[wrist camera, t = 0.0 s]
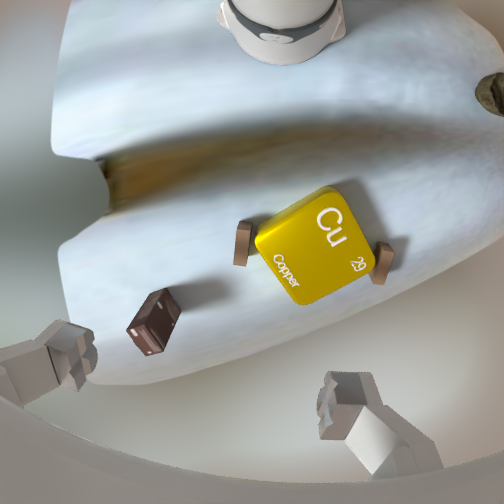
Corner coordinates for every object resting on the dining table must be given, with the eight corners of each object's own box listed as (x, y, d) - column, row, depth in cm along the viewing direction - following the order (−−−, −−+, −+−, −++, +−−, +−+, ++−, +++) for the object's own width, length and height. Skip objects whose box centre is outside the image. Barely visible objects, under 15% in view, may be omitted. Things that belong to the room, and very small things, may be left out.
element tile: (251, 228, 49) (248, 240, 45) (332, 180, 45) (337, 187, 40) (298, 296, 54) (299, 311, 50) (373, 255, 49) (380, 268, 45)
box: (183, 310, 57) (164, 353, 46) (164, 316, 58) (143, 357, 47) (167, 285, 55) (143, 325, 44) (148, 292, 56) (123, 331, 45)
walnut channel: (239, 221, 48) (236, 228, 45) (388, 243, 48) (394, 252, 45) (236, 255, 51) (233, 264, 48) (378, 274, 50) (384, 285, 47)
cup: (466, 67, 33) (493, 64, 26) (496, 84, 33) (524, 84, 26) (462, 106, 36) (490, 108, 29) (492, 121, 36) (520, 126, 29)
